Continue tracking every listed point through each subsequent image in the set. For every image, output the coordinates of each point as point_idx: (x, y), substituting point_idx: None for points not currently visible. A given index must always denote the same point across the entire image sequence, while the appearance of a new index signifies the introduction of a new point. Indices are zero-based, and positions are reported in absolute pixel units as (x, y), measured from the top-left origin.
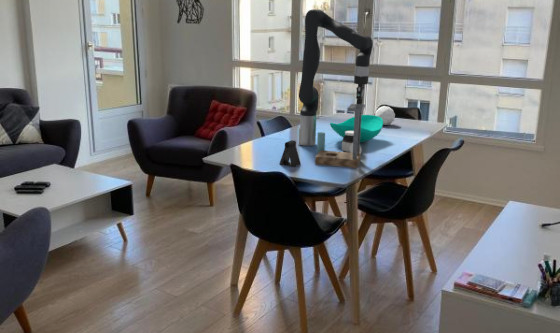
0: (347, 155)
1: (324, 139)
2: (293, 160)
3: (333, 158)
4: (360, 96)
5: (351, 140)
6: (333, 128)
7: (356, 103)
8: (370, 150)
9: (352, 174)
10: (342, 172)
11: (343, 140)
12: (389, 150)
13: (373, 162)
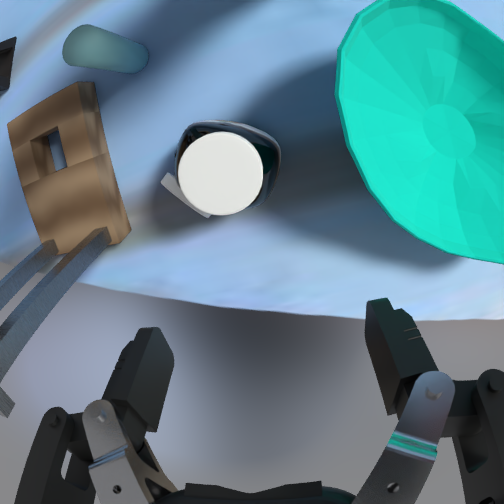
0: (67, 210)
1: (94, 67)
2: None
3: (21, 183)
4: (73, 460)
5: (177, 184)
6: (392, 18)
7: (130, 349)
8: (318, 220)
9: (18, 252)
10: (14, 225)
11: (183, 134)
12: (345, 283)
13: (141, 273)
